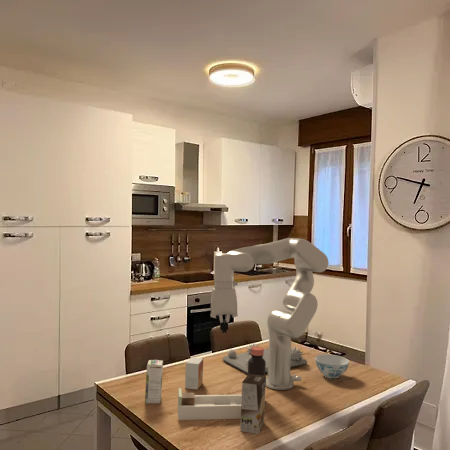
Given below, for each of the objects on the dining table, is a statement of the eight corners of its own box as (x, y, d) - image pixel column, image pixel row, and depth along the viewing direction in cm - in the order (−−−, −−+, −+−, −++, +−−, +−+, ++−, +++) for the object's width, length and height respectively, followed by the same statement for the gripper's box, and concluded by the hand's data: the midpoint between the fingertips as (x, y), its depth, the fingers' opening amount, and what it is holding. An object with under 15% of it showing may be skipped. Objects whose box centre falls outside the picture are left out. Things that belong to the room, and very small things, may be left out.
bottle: (259, 405, 159) (261, 352, 159) (243, 400, 163) (245, 348, 163) (267, 399, 165) (269, 347, 165) (251, 394, 169) (253, 344, 169)
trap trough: (253, 406, 158) (253, 386, 158) (258, 418, 149) (259, 396, 149) (177, 407, 155) (178, 387, 155) (178, 419, 145) (178, 398, 145)
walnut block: (193, 403, 153) (193, 392, 153) (194, 409, 148) (194, 397, 148) (180, 403, 152) (181, 392, 152) (181, 409, 148) (181, 398, 148)
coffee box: (258, 434, 137) (260, 385, 137) (239, 431, 139) (241, 382, 139) (264, 422, 146) (266, 375, 146) (246, 419, 148) (248, 373, 148)
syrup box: (146, 397, 163) (147, 359, 163) (161, 397, 163) (163, 359, 163) (144, 403, 157) (146, 364, 157) (160, 403, 158) (162, 364, 157)
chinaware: (311, 379, 189) (312, 361, 189) (317, 368, 203) (318, 352, 203) (346, 385, 183) (347, 367, 183) (350, 374, 197) (350, 357, 197)
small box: (197, 390, 172) (198, 364, 172) (184, 388, 173) (185, 362, 173) (202, 383, 179) (203, 358, 179) (190, 381, 181) (191, 356, 180)
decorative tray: (275, 352, 228) (276, 333, 228) (309, 366, 206) (310, 346, 206) (220, 361, 209) (221, 341, 209) (252, 379, 187) (252, 356, 187)
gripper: (241, 283, 170) (241, 328, 171) (204, 284, 168) (204, 330, 168) (244, 286, 163) (244, 333, 163) (205, 287, 161) (205, 335, 161)
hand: (224, 331), depth 166 cm, fingers closed
